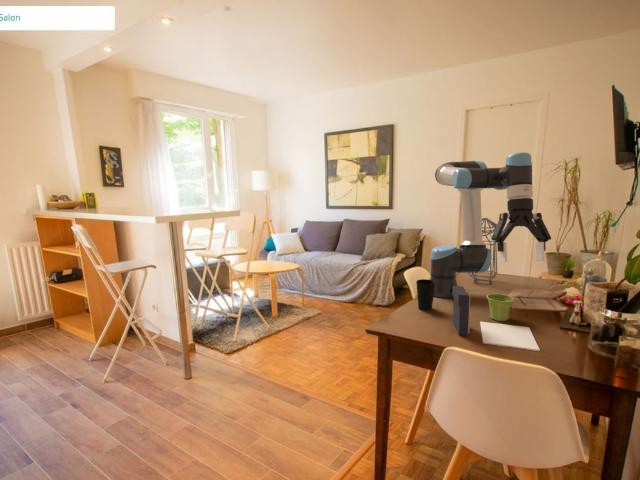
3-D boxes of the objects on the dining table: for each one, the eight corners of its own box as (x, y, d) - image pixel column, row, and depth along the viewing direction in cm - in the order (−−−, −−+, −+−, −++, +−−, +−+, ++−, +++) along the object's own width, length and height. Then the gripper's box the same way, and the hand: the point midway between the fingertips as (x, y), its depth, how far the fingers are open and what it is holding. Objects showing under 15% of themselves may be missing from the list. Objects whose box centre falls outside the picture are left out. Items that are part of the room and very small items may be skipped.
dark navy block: (470, 336, 114) (472, 295, 112) (457, 335, 115) (458, 294, 113) (463, 324, 125) (464, 286, 123) (451, 323, 126) (452, 285, 123)
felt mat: (480, 322, 125) (480, 321, 125) (528, 328, 119) (528, 327, 119) (483, 343, 109) (483, 341, 109) (539, 351, 103) (539, 349, 103)
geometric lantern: (497, 287, 168) (501, 219, 162) (464, 283, 176) (466, 218, 171) (499, 280, 181) (503, 216, 176) (468, 276, 189) (470, 216, 184)
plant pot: (487, 321, 126) (488, 300, 125) (484, 312, 135) (485, 292, 134) (514, 324, 123) (516, 302, 122) (509, 315, 132) (511, 294, 130)
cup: (434, 306, 144) (435, 279, 142) (434, 312, 137) (435, 284, 135) (416, 304, 147) (416, 278, 145) (415, 310, 139) (415, 283, 138)
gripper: (492, 196, 107) (494, 261, 106) (562, 197, 109) (564, 261, 109) (479, 200, 114) (480, 261, 113) (544, 201, 117) (546, 260, 116)
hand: (522, 261), depth 111 cm, fingers open, 13 cm apart
